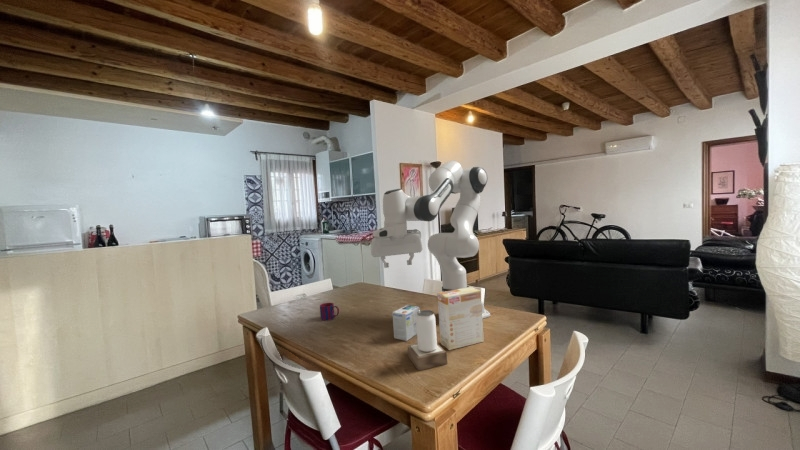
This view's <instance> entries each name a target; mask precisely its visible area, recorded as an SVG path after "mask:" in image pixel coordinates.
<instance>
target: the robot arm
mask: <svg viewBox="0 0 800 450" xmlns="http://www.w3.org/2000/svg"><path fill="white" fill-rule="evenodd" d="M487 182H488V174H487V172H486V170H485V169H484V167H480V166H473V167H471V168H470V167H467V168H463V166H462V165H461V164H460V163H459V161H456V160H448V161H447V162H445V163H443V164H441V165H440V166H438V167H437V168H436V169H435V170H433V171H432V172H431V174H430V175H429V178H428V186H429V188H430V190H431V191H432V192H431V193H430V194H426V195H421V196H420V195H419V196H410V195H408V194H406V193H405V192H404V191H403V189H402V188H396V189H391V190H386V191H385V192H384V193H383V196H382V213H383V218H384V221H383V227H382V228H379V229H377V230H374V231H372V236H373V238H372V240H371V244H370V253H371V256H372V257H374V258H380V260H381V262H382V263H383V267H384V269H386V268H387V269H389V267H390V264H389V262H386V257H389V256H391V257H392V256H399V255H401V256H402V255H408V256H409V259H407V260H406V264H407V266H411V265H412V264H413V259H414V257H415V254H416V253H417V254H418V253H419V254H420V253H422V251H423V244H422V243H423V242H422V233H421V231H420V230H419V229H416V228H414V229H408V224H407V222H433V221H434V220H435V219H436V218H437V216H438V215H439V212H440V210H441V208H442V206H443V205H444V203H445V202H446V201H447V199H448V198H449V197H450V196H451V194H455V195H456V194H459V199H458V200H457V202H456V205H455V206H454V209H453V211H452V213H451V216H450V219H449V222H450V225H451V226H452V227H453V229H454V230H453V232H438V233H435V234H432V235H430V237H428V240H427V248H428V250H429V253H431V254H432V255H433V256H434V258H435V259H436V261H437V262H438V263H437V264H438V265H439V267H440V273H441V281H442V287H441V292H445V291H451V290H456V289H462V288H467V287H470V285H468V283H467V282H468V280H467V270H466V268H465V267H464V266H463V265H462V264H460V263H459V261H458V259H457V258H463V259H465V258H471V257H474V256H476V255H477V254H478V252H479V249H480V243H479V242H480V241H479V239H478V238H477V236H476V234H474V225H475V222H476V219H477V215H478V214H479V210H480V207H481V206H480V205H481V201H482V200H481V195H480V194H481V193H482V192H483V191H484V188H485V187H486V185H487ZM481 305H482V320H483V319H485V318H489V317H491V313H490V312H489V310H487V309H486V308H485V306H484V302H483V301H482V300H481Z"/></svg>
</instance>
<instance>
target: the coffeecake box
mask: <svg viewBox="0 0 800 450" xmlns="http://www.w3.org/2000/svg"><path fill="white" fill-rule="evenodd" d="M481 292H482V291H481V290H480V289H479V288H478V289H477V288H475V287H473V286H469V287H467V288H462V289H456V290H451V291H445V292H442V291H440V292H437V307H438V308H437V309H438V323H439V324H438V325H439V336H440V338H439V339H440V344H441V346H443V347H445V348H446V349H447V350H449V351H452V350H456V349H459V348H463V347H464V348H465V347H467V346H471V345H475V344H480V343H483V342H484V340H485V339H484V337H485V336H484V325H483V319H482V305H481V301H482V293H481Z"/></svg>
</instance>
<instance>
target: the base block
mask: <svg viewBox="0 0 800 450" xmlns="http://www.w3.org/2000/svg"><path fill="white" fill-rule="evenodd" d="M447 353H448V352H447V351H446V350H445V349H444V348H443V347H442V345H440V344H439V343H438V342H437V348H436V350H434V351H432V352H422V351H420V350H419V349H418V343H414V344H409V345H407V357H408V359H409V360H410V361H411V363H412V364H413V365H414V367H415V368H416V369H417V371H424V370H427V369H432V368H435V367H440V366H444V365H448V354H447Z"/></svg>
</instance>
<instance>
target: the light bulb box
mask: <svg viewBox="0 0 800 450" xmlns="http://www.w3.org/2000/svg"><path fill="white" fill-rule="evenodd" d="M419 311H420V306H416V305H410V304H405V305H403V306H402V307H400V308H398V309H396V310H394V311H392V314H391V315H392V326H393V328H392V329H393V337H394V339H397V340H401V341H405V342H407V341H409V340H410V339H412V338H413V337H415V336H417V327H416V317H417V312H419Z"/></svg>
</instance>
